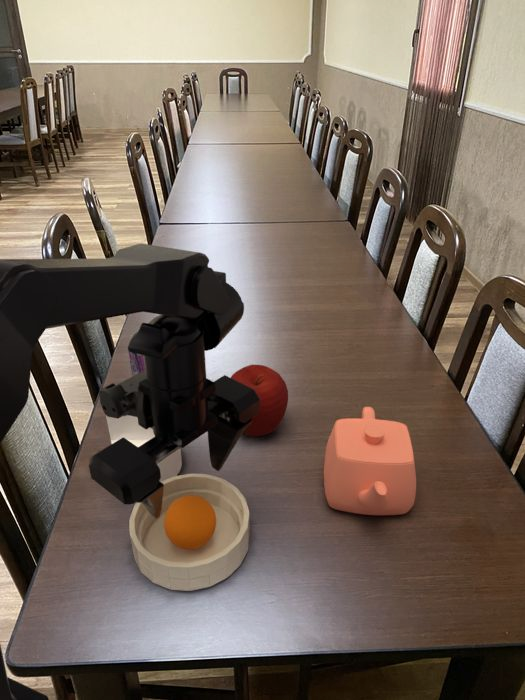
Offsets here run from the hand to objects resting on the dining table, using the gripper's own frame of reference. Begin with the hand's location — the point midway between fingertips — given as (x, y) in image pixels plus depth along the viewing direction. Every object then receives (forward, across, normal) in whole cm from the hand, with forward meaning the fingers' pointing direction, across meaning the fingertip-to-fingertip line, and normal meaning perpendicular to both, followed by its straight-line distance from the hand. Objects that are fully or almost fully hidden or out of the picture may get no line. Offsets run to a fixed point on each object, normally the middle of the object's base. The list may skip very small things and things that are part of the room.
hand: (187, 491), depth 60 cm
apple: (+9, -21, -8) cm, 24 cm away
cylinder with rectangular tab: (+9, -5, -14) cm, 17 cm away
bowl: (+9, 0, 0) cm, 9 cm away
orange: (+8, 0, 0) cm, 8 cm away
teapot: (+9, -20, +12) cm, 25 cm away
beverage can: (+9, -16, -25) cm, 31 cm away
